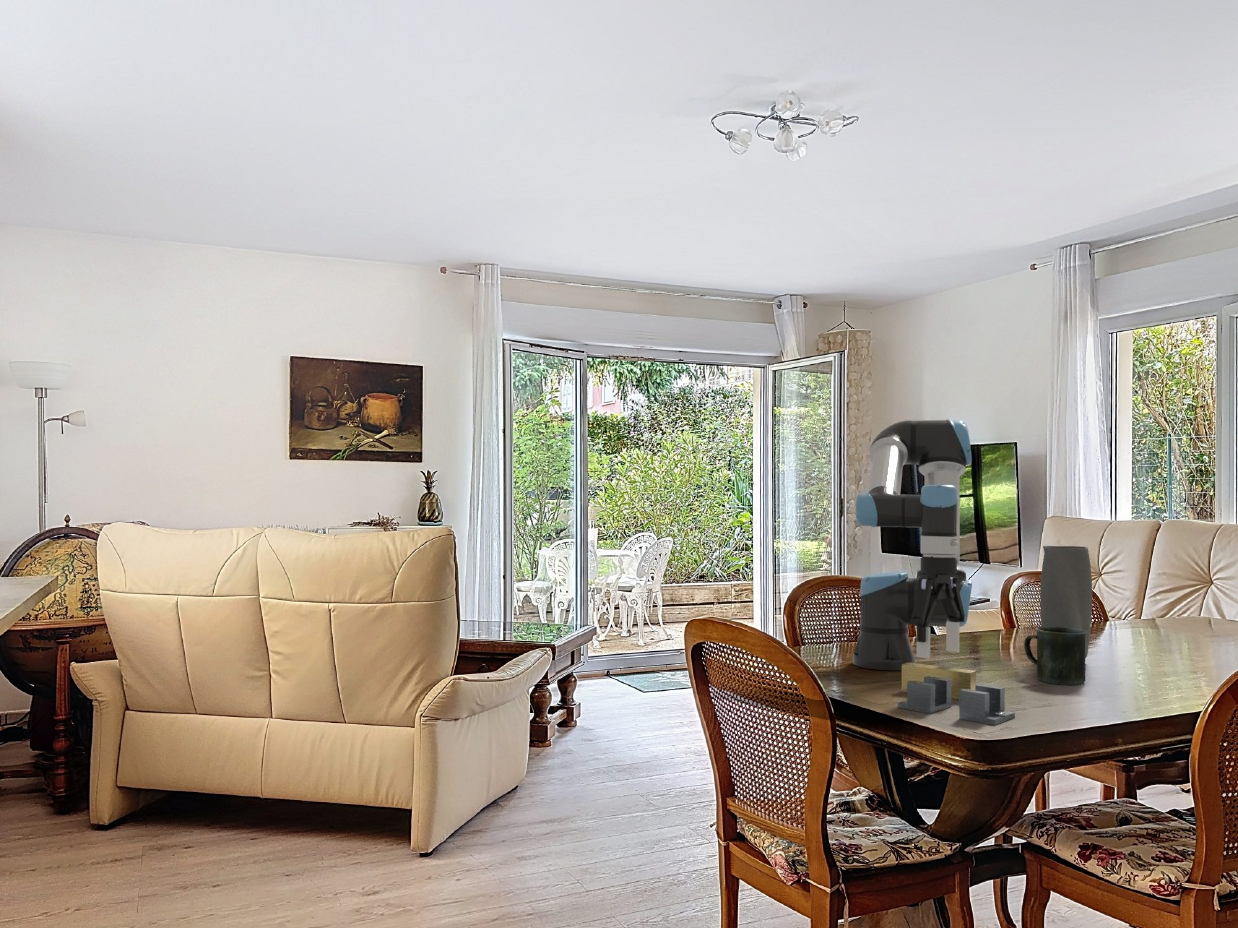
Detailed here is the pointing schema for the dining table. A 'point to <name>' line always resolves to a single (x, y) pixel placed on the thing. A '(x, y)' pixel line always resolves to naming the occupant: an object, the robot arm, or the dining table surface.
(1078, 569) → the vase
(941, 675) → the wooden beam block
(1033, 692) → the dining table surface
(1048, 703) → the dining table surface
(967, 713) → the grey beam support bracket
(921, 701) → the grey slotted bracket
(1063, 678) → the mug
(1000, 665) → the dining table surface
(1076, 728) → the dining table surface
